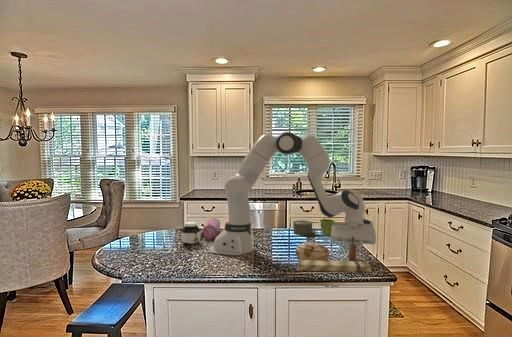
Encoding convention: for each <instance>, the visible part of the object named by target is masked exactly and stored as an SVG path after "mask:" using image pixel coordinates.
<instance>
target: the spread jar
mask: <svg viewBox="0 0 512 337" xmlns="http://www.w3.org/2000/svg"><path fill="white" fill-rule="evenodd" d="M200 232H201V229H200V227H199V226H198V222H197V221H186V222H184V226H183V227H182V229H181V232H180V233H181V234H180V240H181V242H182V243H183V245H185V246H195V245H197V244H198V243H199V242H200V241H201V239H200Z"/></svg>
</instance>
